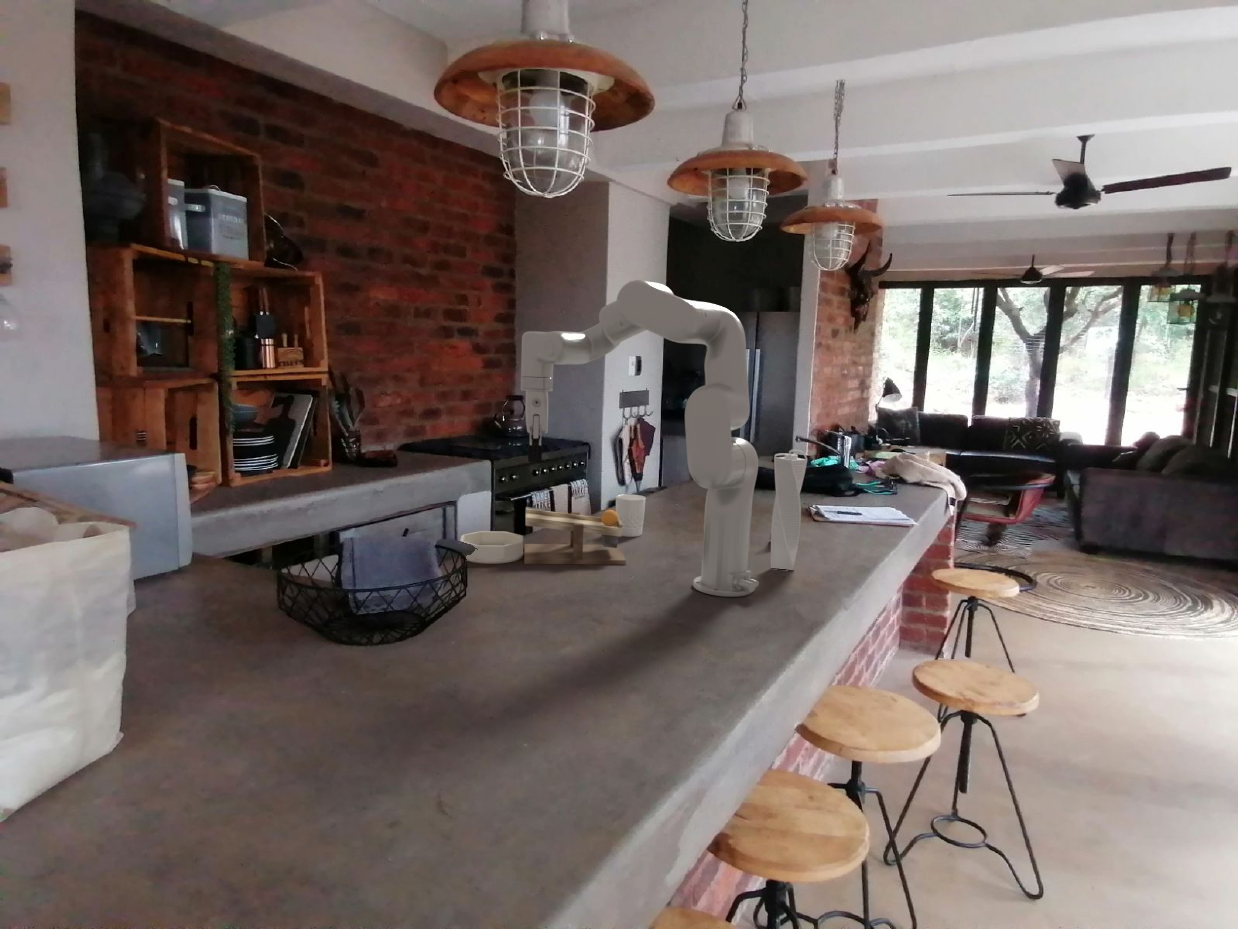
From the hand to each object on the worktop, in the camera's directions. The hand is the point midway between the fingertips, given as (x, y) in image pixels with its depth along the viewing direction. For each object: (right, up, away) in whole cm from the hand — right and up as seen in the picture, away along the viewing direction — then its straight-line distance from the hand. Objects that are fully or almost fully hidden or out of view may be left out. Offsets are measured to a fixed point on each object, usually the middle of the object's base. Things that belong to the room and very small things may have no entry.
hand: (534, 461), depth 190 cm
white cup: (+23, -19, +21) cm, 37 cm away
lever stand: (+10, -22, -4) cm, 25 cm away
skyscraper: (+58, -25, -6) cm, 64 cm away
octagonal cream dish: (-9, -22, -6) cm, 24 cm away
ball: (+18, -13, -4) cm, 23 cm away
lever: (+9, -18, -1) cm, 20 cm away
